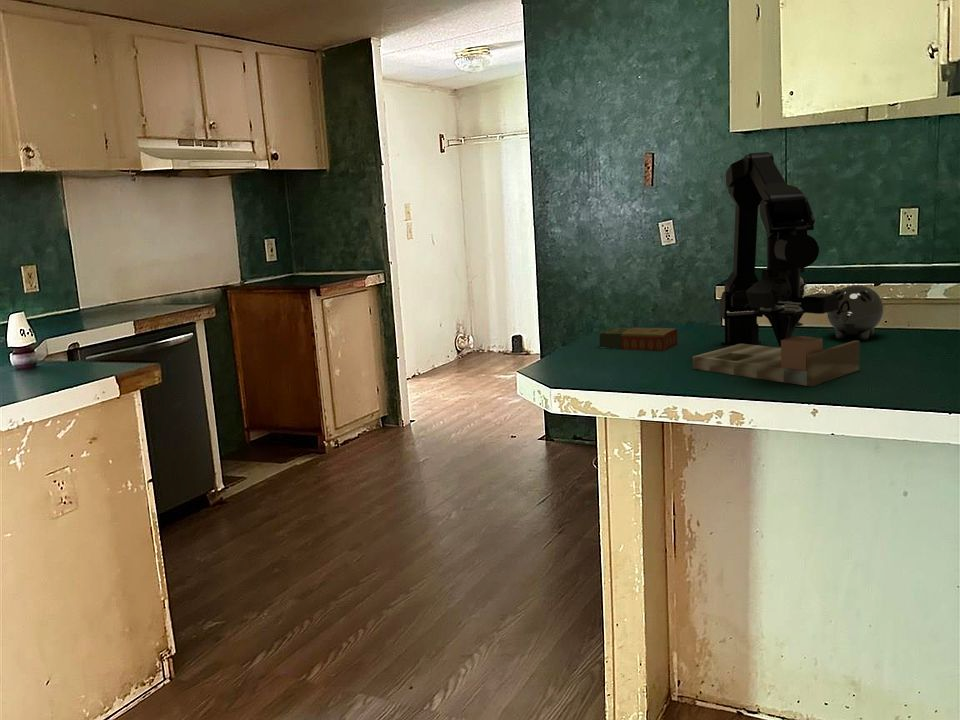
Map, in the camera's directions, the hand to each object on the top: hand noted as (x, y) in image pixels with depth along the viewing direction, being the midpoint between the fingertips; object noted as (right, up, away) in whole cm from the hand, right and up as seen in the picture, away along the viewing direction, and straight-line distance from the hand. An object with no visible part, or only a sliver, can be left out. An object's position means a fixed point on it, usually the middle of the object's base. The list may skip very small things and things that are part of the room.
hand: (782, 346), depth 153 cm
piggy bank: (+27, +2, +30) cm, 41 cm away
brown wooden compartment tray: (0, -4, +5) cm, 7 cm away
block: (+2, -4, -5) cm, 6 cm away
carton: (-20, 0, +38) cm, 43 cm away
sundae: (+21, +6, +51) cm, 55 cm away
